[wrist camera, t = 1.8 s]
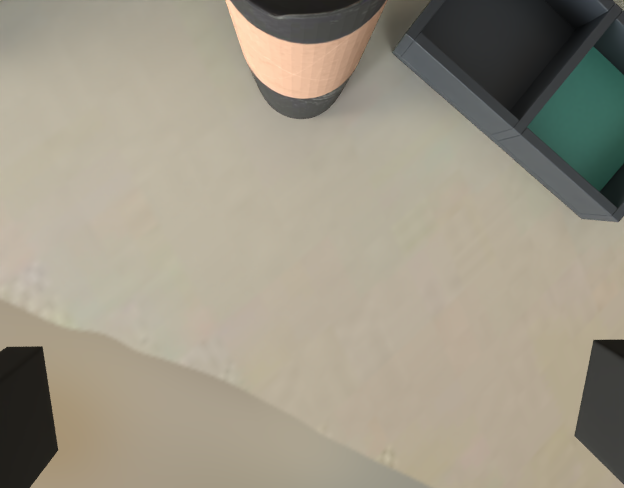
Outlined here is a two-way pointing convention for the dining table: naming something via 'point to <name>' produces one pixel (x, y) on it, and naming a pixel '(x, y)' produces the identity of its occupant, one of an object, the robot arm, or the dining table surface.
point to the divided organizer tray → (535, 87)
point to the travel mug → (303, 48)
